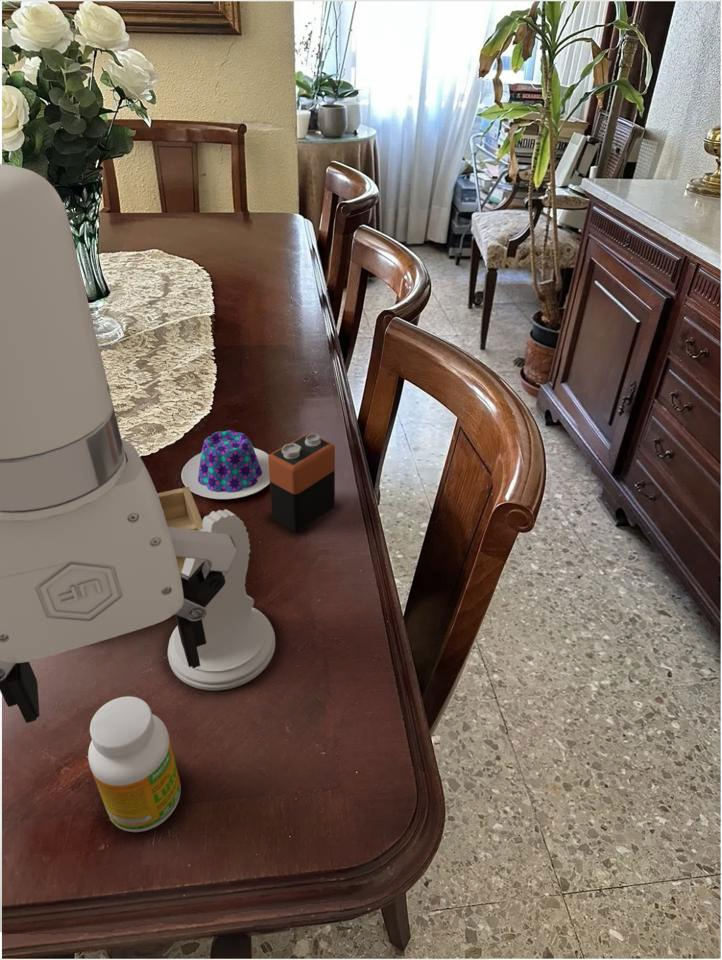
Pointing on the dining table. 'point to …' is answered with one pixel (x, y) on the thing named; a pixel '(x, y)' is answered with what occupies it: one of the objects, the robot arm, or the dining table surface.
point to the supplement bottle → (133, 764)
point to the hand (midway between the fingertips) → (114, 676)
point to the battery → (302, 481)
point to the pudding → (227, 467)
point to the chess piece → (226, 622)
